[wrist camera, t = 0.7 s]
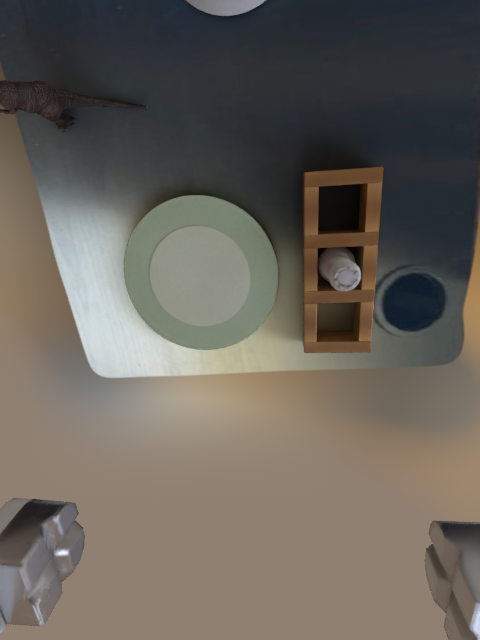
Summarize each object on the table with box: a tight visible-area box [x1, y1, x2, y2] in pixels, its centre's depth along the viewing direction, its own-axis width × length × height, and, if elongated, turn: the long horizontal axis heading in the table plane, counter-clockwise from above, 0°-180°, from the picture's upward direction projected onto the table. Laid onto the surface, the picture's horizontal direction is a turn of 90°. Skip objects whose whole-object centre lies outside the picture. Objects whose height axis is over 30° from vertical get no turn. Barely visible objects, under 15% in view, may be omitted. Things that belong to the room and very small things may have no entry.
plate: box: [124, 195, 279, 350], centre depth 45 cm, size 20×20×1 cm
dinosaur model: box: [0, 81, 148, 132], centre depth 35 cm, size 4×12×15 cm
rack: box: [303, 167, 383, 353], centre depth 42 cm, size 21×8×4 cm, turn 3°
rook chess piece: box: [318, 247, 361, 291], centre depth 40 cm, size 4×4×8 cm
